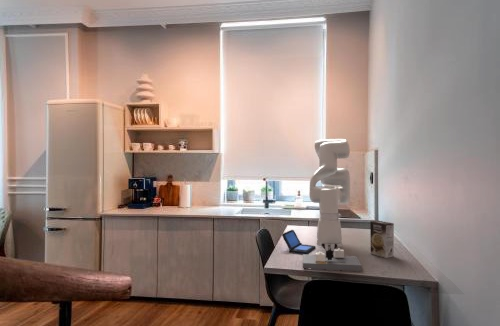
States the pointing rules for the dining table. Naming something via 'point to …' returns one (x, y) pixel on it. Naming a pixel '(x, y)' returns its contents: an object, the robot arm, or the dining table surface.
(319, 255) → the white small block
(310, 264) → the switch panel
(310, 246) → the handheld game console
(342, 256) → the inner tab
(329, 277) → the dining table surface
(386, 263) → the dining table surface
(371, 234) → the coffee box
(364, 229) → the dining table surface
